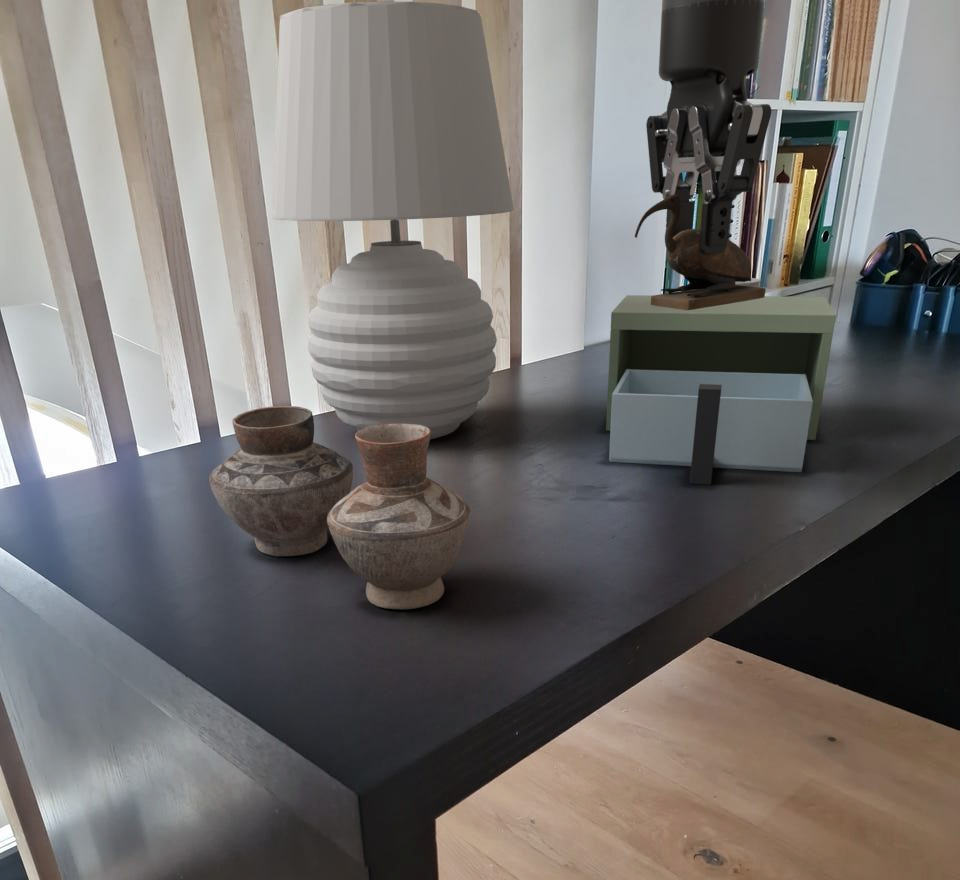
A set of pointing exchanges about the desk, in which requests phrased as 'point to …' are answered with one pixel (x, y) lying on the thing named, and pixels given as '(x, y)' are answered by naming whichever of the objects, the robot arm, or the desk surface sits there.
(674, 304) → the figurine
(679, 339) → the cabinet
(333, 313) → the table lamp
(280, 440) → the pottery
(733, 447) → the bin
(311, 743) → the desk surface
